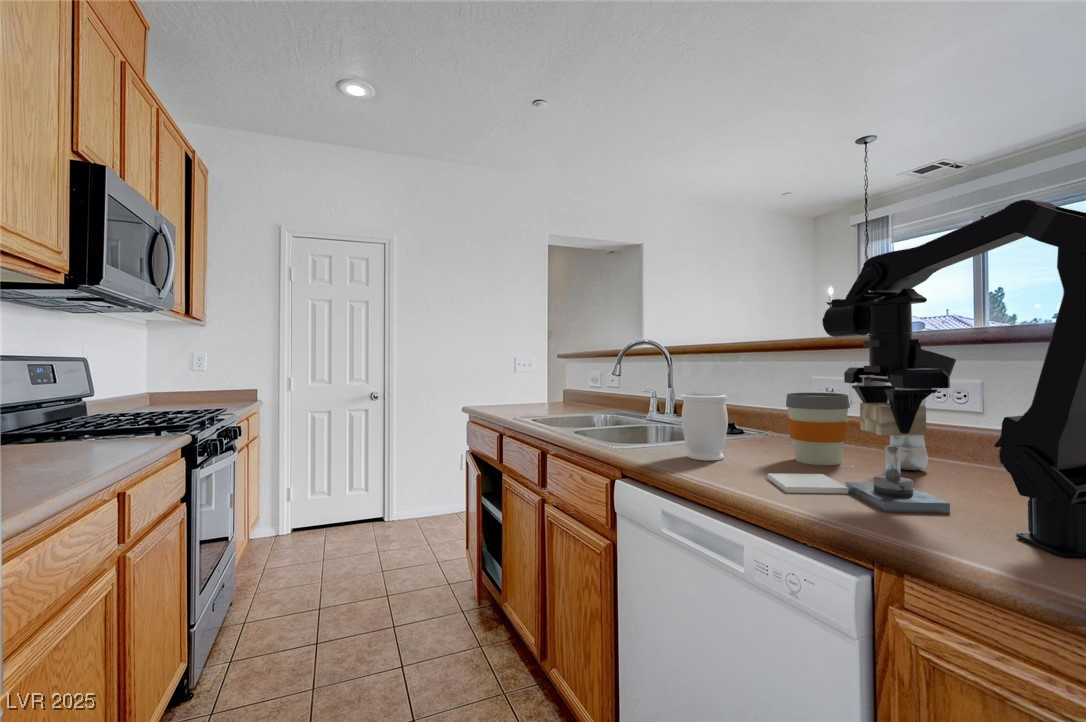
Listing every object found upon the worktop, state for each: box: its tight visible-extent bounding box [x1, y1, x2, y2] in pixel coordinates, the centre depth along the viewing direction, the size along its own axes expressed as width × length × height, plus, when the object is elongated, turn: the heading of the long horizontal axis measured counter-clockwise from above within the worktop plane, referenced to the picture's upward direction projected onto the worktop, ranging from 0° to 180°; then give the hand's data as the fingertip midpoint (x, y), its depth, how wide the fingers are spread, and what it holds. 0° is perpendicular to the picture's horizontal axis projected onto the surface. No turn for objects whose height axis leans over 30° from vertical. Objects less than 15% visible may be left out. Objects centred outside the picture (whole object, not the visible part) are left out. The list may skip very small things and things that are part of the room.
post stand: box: [845, 445, 951, 514], centre depth 78 cm, size 12×9×9 cm
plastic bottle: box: [887, 388, 929, 471], centre depth 99 cm, size 6×7×20 cm
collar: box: [859, 402, 927, 436], centre depth 78 cm, size 6×6×4 cm
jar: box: [680, 393, 729, 462], centre depth 115 cm, size 11×10×15 cm
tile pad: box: [767, 472, 849, 495], centre depth 88 cm, size 10×10×1 cm
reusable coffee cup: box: [785, 392, 851, 466], centre depth 109 cm, size 12×13×15 cm
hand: (892, 430), depth 78 cm, fingers closed on collar, 6 cm apart
